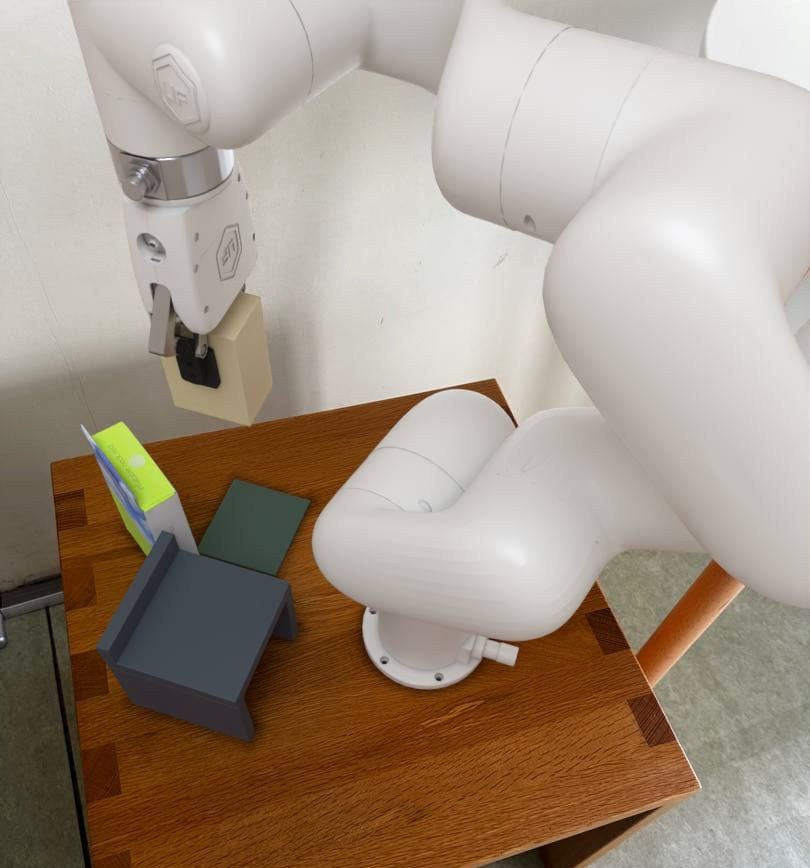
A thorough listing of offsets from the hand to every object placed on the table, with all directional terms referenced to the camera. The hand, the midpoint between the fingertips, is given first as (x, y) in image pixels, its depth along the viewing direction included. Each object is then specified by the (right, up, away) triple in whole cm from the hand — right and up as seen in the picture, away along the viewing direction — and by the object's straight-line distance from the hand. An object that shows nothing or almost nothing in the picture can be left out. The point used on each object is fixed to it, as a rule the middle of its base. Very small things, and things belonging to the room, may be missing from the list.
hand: (216, 355), depth 68 cm
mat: (-1, -14, +21) cm, 25 cm away
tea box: (0, -3, +4) cm, 5 cm away
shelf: (-3, -27, +13) cm, 30 cm away
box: (-10, -17, +20) cm, 27 cm away
